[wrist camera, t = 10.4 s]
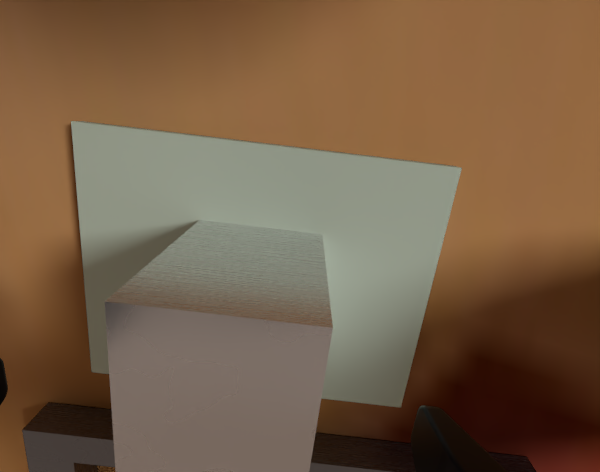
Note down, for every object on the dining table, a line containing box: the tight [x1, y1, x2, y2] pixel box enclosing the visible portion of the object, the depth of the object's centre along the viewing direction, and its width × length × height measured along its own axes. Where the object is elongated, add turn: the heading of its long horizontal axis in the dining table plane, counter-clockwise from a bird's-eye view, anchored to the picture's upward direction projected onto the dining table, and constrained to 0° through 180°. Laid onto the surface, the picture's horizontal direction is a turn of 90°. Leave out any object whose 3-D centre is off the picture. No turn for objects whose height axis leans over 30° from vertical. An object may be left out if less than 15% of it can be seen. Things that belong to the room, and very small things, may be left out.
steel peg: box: [105, 220, 333, 472], centre depth 10 cm, size 4×4×6 cm
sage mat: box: [71, 121, 462, 408], centre depth 13 cm, size 13×10×1 cm
